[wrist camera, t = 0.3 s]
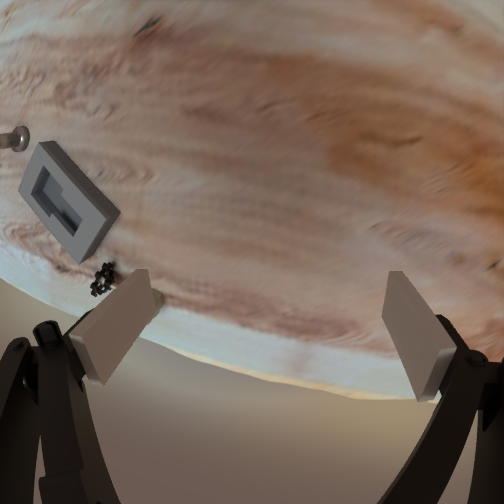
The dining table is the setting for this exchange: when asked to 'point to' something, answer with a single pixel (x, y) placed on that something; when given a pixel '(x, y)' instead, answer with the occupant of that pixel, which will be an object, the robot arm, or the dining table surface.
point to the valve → (109, 284)
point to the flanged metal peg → (15, 139)
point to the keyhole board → (66, 201)
